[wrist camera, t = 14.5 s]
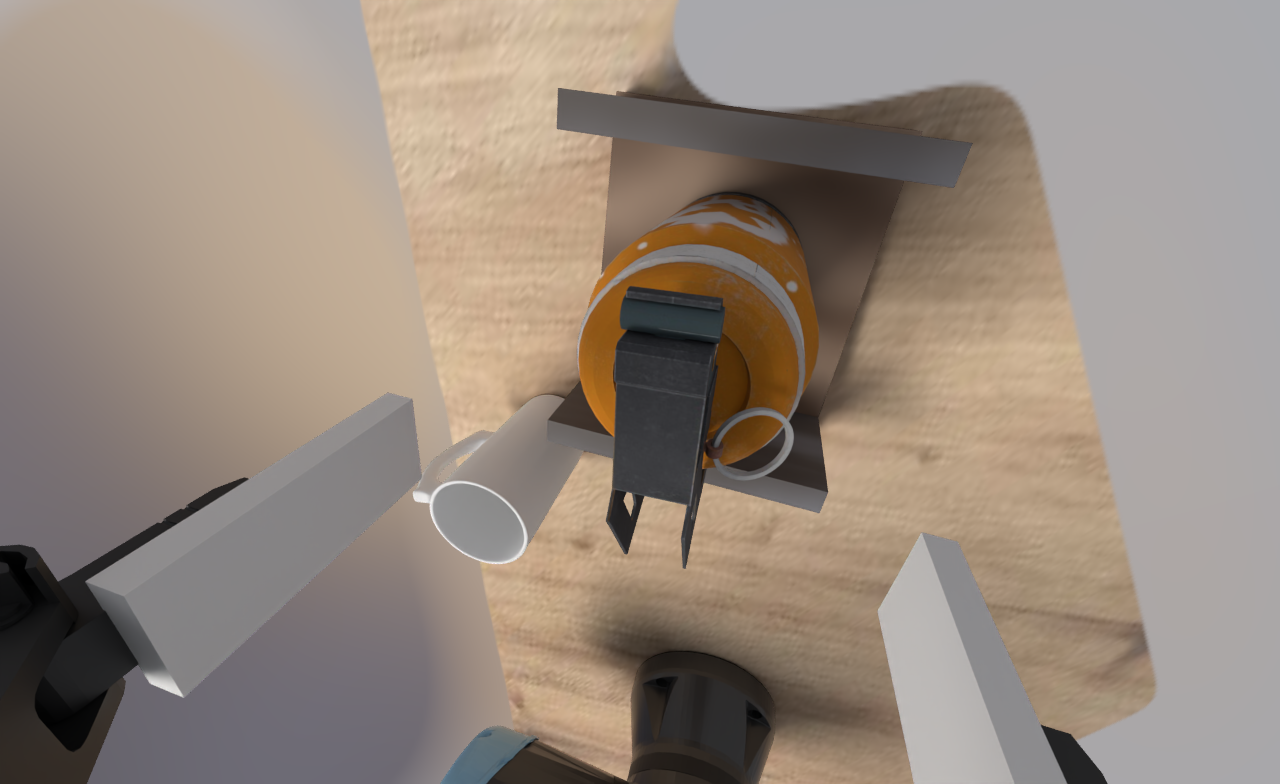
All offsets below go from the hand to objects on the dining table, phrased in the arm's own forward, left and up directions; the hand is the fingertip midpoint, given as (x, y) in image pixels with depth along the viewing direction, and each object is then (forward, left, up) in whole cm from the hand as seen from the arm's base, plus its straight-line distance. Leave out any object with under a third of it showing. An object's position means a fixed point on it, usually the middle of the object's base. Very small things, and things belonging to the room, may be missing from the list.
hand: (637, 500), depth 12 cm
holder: (0, 0, -22) cm, 22 cm away
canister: (0, 0, -21) cm, 21 cm away
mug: (-15, +13, -22) cm, 30 cm away
